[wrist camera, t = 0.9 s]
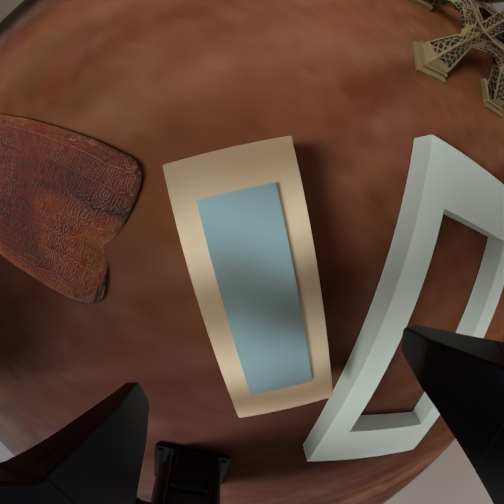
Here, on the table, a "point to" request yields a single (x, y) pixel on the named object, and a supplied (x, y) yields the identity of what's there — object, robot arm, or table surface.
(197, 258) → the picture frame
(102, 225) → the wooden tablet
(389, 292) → the pale grey open frame
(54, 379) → the table surface
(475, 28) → the eiffel tower
